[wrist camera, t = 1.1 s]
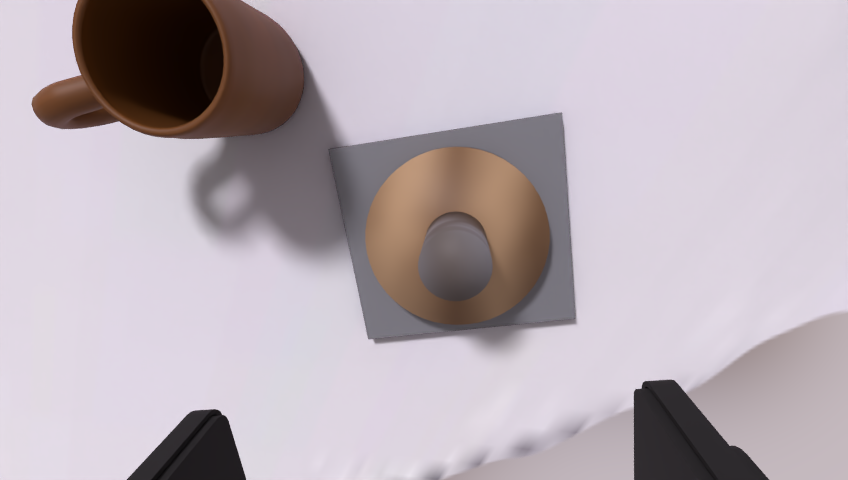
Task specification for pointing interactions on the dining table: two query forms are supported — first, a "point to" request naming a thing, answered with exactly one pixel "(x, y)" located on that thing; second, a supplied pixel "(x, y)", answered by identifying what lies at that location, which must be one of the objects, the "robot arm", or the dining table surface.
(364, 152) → the rubber mat
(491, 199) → the copper lid
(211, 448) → the robot arm
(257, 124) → the mug
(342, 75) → the dining table surface
